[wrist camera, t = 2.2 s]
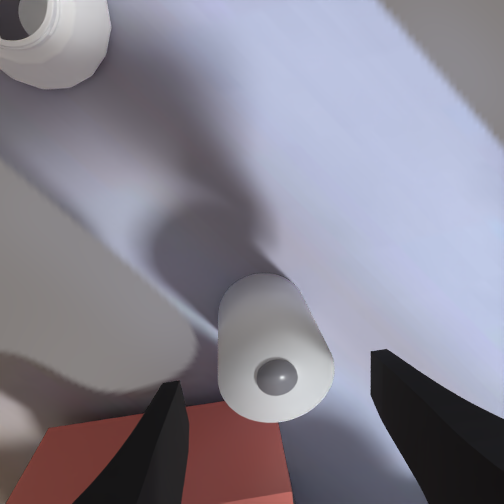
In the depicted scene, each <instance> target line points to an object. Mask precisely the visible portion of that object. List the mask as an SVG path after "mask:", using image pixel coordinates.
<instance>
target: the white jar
mask: <svg viewBox="0 0 504 504" xmlns="http://www.w3.org/2000/svg"><path fill="white" fill-rule="evenodd" d="M18 13H19V19H20V22H21V24H22V26H23V28H24V30H25V31H26V32H27V33H28V35H29V37H27V38H24V39H21V40H14V41H11V40H3V39H2V38H1V36H0V69H1V70H2V71H3V72H5V73H6V74H7V75H8V76H10V77H11V78H12V79H14V80H17V81H20V82H23V83H25V84H28V85H31V86H34V87H37V88H40V89H44V90H46V89H62V88H71V87H73V86H75V85H77V84H78V83H80V82H82V81H84V80H86V79H87V78H89V77H91V76H92V75H93V74H94V72H95V71H96V69H97V68H98V66H99V65H100V63H101V62H102V60H103V59H104V58H105V56H106V54H107V48H108V43H109V38H110V32H111V22H110V16H109V10H108V5H107V0H20V3H19V8H18Z"/></svg>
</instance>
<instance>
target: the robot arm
mask: <svg viewBox="0 0 504 504" xmlns="http://www.w3.org/2000/svg"><path fill="white" fill-rule="evenodd" d="M371 397H372V399H373V402H374V404H375V406H376V409H377V411H378V413H379V416H380V418H381V420H382V422H383V424H384V425H385V427H386V429H387V431H388V432H389V434H390V436H391V437H392V439H393V441H394V443H395V444H396V446H397V448H398V449H399V451H400V453H401V454H402V456H403V458H404V460H405V461H406V463H407V465H408V466H409V468H410V470H411V471H412V473H413V475H414V477H415V478H416V480H417V482H418V484H419V486H420V487H421V489H422V491H423V493H424V495H425V497H426V499H427V501H428V504H504V419H502V418H500V417H498V416H496V415H494V414H492V413H490V412H488V411H486V410H484V409H482V408H480V407H478V406H476V405H474V404H472V403H470V402H469V401H467V400H465V399H463V398H461V397H460V396H458V395H456V394H455V393H453V392H451V391H449V390H448V389H446V388H444V387H443V386H441V385H440V384H438V383H436V382H435V381H433V380H432V379H430V378H429V377H427V376H426V375H424V374H423V373H421V372H420V371H418V370H417V369H415V368H414V367H412V366H411V365H409V364H408V363H406V362H405V361H403V360H402V359H401V358H399V357H398V356H396V355H395V354H393V353H392V352H390V351H389V350H387V349H384V350H377V351H371ZM188 452H189V420H188V415H187V411H186V406H185V402H184V397H183V393H182V389H181V384H180V381H174V382H167V383H163V384H162V385H161V386H160V388H159V390H158V392H157V393H156V395H155V397H154V398H153V400H152V402H151V403H150V405H149V407H148V408H147V410H146V411H145V413H144V415H143V416H142V418H141V419H140V421H139V422H138V424H137V425H136V427H135V428H134V430H133V431H132V433H131V434H130V435H129V437H128V438H127V439H126V441H125V442H124V444H123V445H122V446H121V448H120V449H119V450H118V452H117V453H116V454H115V456H114V457H113V458H112V459H111V461H110V462H109V463H108V464H107V466H106V467H105V468H104V469H103V470H102V472H101V473H100V474H99V475H98V476H97V477H96V479H95V480H94V481H93V482H92V483H91V484H90V485H89V486H88V487H87V488H86V489H85V490H84V492H83V493H82V494H81V495H80V496H79V497H78V498H77V499H76V500H75V501H74V502H73V503H72V504H181V501H182V494H183V487H184V481H185V474H186V467H187V459H188Z"/></svg>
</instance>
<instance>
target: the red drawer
mask: <svg viewBox="0 0 504 504" xmlns="http://www.w3.org/2000/svg"><path fill="white" fill-rule="evenodd" d="M186 411H187V415H188V420H189V452H188V459H187V467H186V474H185V481H184V487H183V494H182V501H181V504H293V496H292V489H291V484H290V479H289V474H288V469H287V464H286V459H285V454H284V449H283V444H282V439H281V434H280V429H279V424H278V422H276V423H265V422H258V421H253V420H250V419H247V418H245V417H243V416H241V415H239V414H238V413H236V412H235V411H234V410H233V409H231V408H230V407H229V406H228V404H227V403H226V402H225V401H221V402H214V403H208V404H201V405H195V406H188V407H186ZM143 415H144V413H143V414H137V415H130V416H124V417H117V418H111V419H104V420H98V421H91V422H85V423H78V424H72V425H65V426H59V427H52V428H49V429H48V430H47V432H46V434H45V436H44V437H43V439H42V441H41V443H40V444H39V446H38V448H37V450H36V451H35V453H34V455H33V457H32V458H31V460H30V462H29V464H28V465H27V467H26V469H25V471H24V473H23V474H22V476H21V478H20V480H19V481H18V483H17V485H16V487H15V488H14V490H13V492H12V494H11V495H10V497H9V499H8V501H7V502H6V504H72V503H73V502H74V501H75V500H76V499H77V498H78V497H79V496H80V495H81V494H82V493H83V492H84V490H85V489H86V488H87V487H88V486H89V485H90V484H91V483H92V482H93V481H94V480H95V479H96V477H97V476H98V475H99V474H100V473H101V472H102V470H103V469H104V468H105V467H106V466H107V464H108V463H109V462H110V461H111V459H112V458H113V457H114V456H115V454H116V453H117V452H118V450H119V449H120V448H121V446H122V445H123V444H124V442H125V441H126V439H127V438H128V437H129V435H130V434H131V433H132V431H133V430H134V428H135V427H136V425H137V424H138V422H139V421H140V419H141V418H142V416H143Z"/></svg>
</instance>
